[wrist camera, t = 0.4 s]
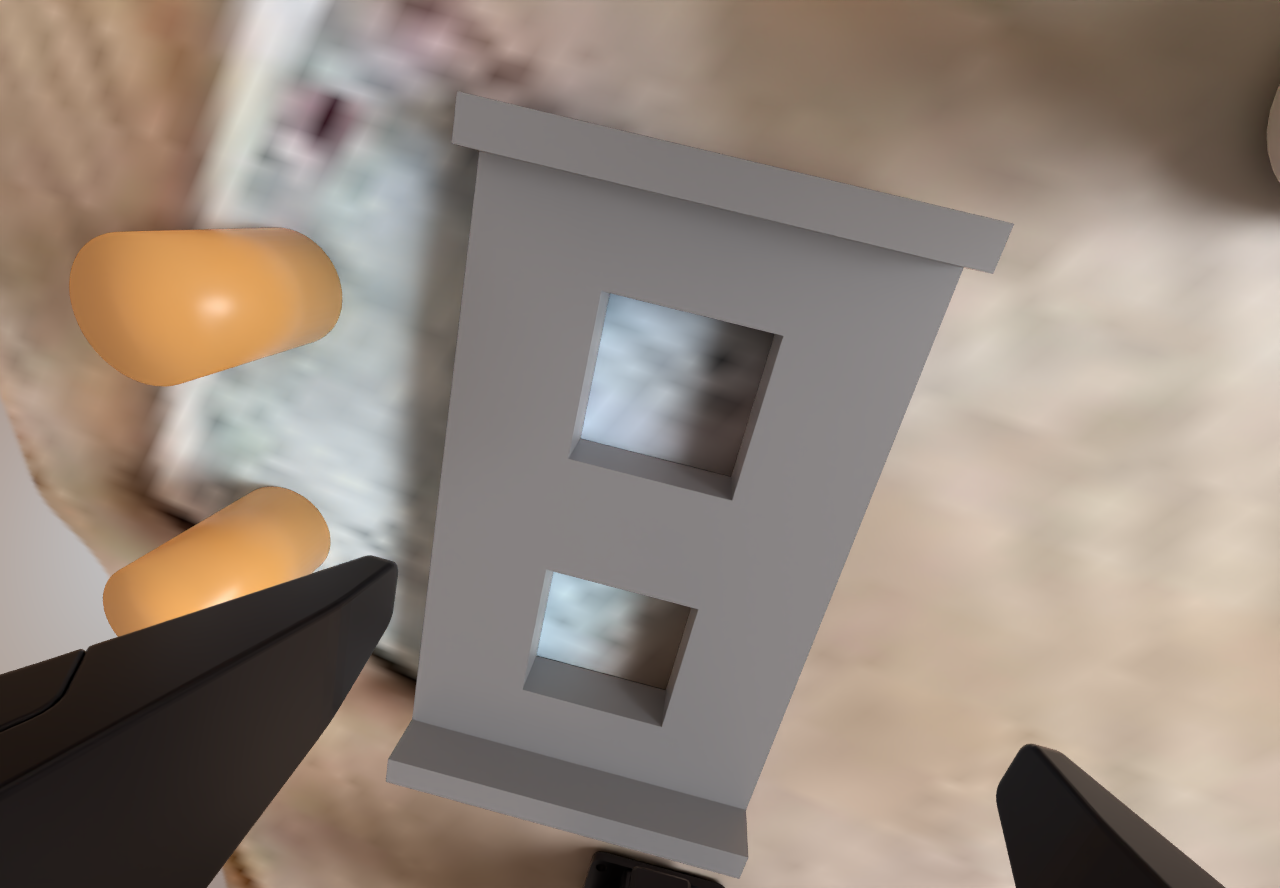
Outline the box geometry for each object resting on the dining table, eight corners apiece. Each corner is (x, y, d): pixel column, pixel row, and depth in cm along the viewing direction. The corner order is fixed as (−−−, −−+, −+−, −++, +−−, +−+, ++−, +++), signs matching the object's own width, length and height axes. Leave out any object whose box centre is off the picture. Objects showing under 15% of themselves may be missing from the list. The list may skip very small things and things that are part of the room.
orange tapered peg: (328, 584, 26) (222, 683, 21) (238, 560, 26) (108, 652, 21) (332, 500, 25) (220, 583, 19) (236, 475, 25) (97, 551, 19)
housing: (736, 788, 27) (739, 878, 24) (430, 705, 28) (385, 781, 24) (955, 222, 19) (1013, 223, 15) (507, 115, 19) (457, 91, 16)
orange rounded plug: (339, 356, 23) (215, 401, 17) (234, 329, 23) (77, 366, 17) (345, 242, 21) (211, 252, 16) (233, 215, 21) (60, 214, 16)
